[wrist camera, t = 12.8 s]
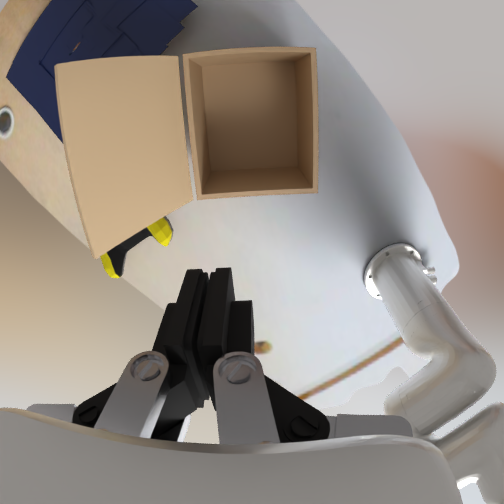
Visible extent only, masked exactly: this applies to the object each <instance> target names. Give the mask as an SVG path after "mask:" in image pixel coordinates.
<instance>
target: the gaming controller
mask: <svg viewBox="0 0 504 504" xmlns="http://www.w3.org/2000/svg"><path fill="white" fill-rule="evenodd" d="M172 235H173V228H172V226H171V224H170V221H169V220H168V219H167V217H166V216H164V217H162V218H161V219H159V220H157V221H156V222H154V223H152V224H151V225H149V226H147V227H146V228H144V229H142V230H141V231H139V232H138V233H136V234H134V235H133V236H131V237H130V238H128V239H126V240H125V241H123V242H122V243H120V244H118V245H117V246H115V247H114V248H112V249H111V250H109V251H107V252H106V253H104V254H103V255H101V256H100V257H101V260H102V263H103V266H104V269H105V271H106V272H107V274H109V276H110V277H112V278H119V277H121V276H122V274H123V271H124V264H125V259H126V254H127V251H129V250H130V249H131V248H132V247H134V246H135V245H137V244H138V243H139V242H141V241H142V240H144V239H145V238H147V237H149V236H153V237H154V238H155V239H156V240H157V241H158V242H159V243H160V244H162V245H164V246H168V244H169V242H170V241H171V239H172Z"/></svg>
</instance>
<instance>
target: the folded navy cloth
mask: <svg viewBox="0 0 504 504" xmlns="http://www.w3.org/2000/svg"><path fill="white" fill-rule="evenodd" d="M197 7H198V6H197V5H196V4H195V3H194V2H192V1H191V0H52V1H51V2H50V3H49V5H48V6H47V7H46V9H45V10H44V11H43V13H42V14H41V16H40V17H39V19H38V20H37V22H36V23H35V25H34V26H33V28H32V29H31V31H30V32H29V34H28V35H27V37H26V39H25V40H24V42H23V44H22V45H21V47H20V49H19V51H18V53H17V55H16V57H15V59H14V61H13V64H12V66H11V68H10V70H9V72H8V74H7V76H6V78H7V79H8V80H9V81H10V82H11V83H12V84H13V86H14V87H15V88H16V89H17V90H18V91H19V92H20V93H21V94H22V95H23V97H24V98H25V99H26V100H27V101H28V102H29V103H30V104H31V105H32V106H33V107H34V108H35V110H36V111H37V112H38V113H39V114H40V116H41V117H42V118H43V119H44V121H45V122H46V123H47V124H48V126H49V127H50V128H51V129H52V131H53V132H54V133H55V134H56V136H57V137H58V138H59V139H60V140H61V142H62V143H63V138H62V132H61V126H60V119H59V111H58V103H57V94H56V82H55V68H54V66H55V65H56V64H60V63H67V62H73V61H81V60H89V59H98V58H110V57H125V56H159V55H160V54H161V53H162V52H163V51H164V50H165V49H166V48H167V47H168V46H167V44H168V43H169V42H170V41H171V40H172V39H173V38H174V37H175V36H176V35H177V34H178V33H179V32H180V31H181V30H182V29H183V28H185V27H183V26H182V25H181V24H180V23H179V22H180V21H181V20H183V19H184V18H185V17H186V16H187V15H188V14H189V13H191V12H192V11H193V10H194V9H195V8H197Z"/></svg>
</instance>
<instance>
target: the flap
mask: <svg viewBox="0 0 504 504" xmlns="http://www.w3.org/2000/svg"><path fill="white" fill-rule="evenodd" d="M54 68H55V82H56V94H57V103H58V111H59V119H60V126H61V132H62V138H63V144H64V150H65V155H66V160H67V165H68V170H69V174H70V179H71V183H72V187H73V192H74V196H75V200H76V203H77V207H78V211H79V214H80V218H81V221H82V225H83V228H84V232H85V235H86V238H87V241H88V244H89V248H90V251H91V254H92V257H93V258H95V259H97V258H98V257H100V256H101V255H103V254H104V253H106V252H107V251H109V250H111V249H112V248H114V247H115V246H117V245H118V244H120V243H122V242H123V241H125V240H126V239H128V238H130V237H131V236H133V235H134V234H136V233H138V232H139V231H141V230H142V229H144V228H146V227H147V226H149V225H151V224H152V223H154V222H156V221H157V220H159V219H161V218H162V217H164V216H166V215H168V214H169V213H171V212H173V211H174V210H176V209H178V208H180V207H181V206H183V205H185V204H187V203H188V202H190V201H192V200H193V195H192V188H191V180H190V172H189V164H188V156H187V147H186V138H185V129H184V119H183V109H182V98H181V87H180V74H179V61H178V56H125V57H110V58H98V59H89V60H81V61H73V62H67V63H60V64H56V65H55V66H54Z"/></svg>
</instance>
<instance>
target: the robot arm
mask: <svg viewBox="0 0 504 504" xmlns="http://www.w3.org/2000/svg"><path fill="white" fill-rule="evenodd" d="M434 273H435V268H434V267H428V268H425V267H424V266H423V265H422V260H421V257H420V255H419V253H418V251H417V250H416V249H415V248H414V247H412V246H411V245H408V244H403V243H399V244H393V245H390V246H388V247H386V248H384V249H382V250H381V251H379V252H378V253H377V254H376V255H375V256H374V257H373V258H372V260H371V261H370V263H369V264H368V266H367V268H366V271H365V275H364V282H365V286H366V288H367V290H368V292H369V293H370V294H371V295H372V296H373V297H375V298H377V299H382V301H383V303H384V305H385V306H386V308H387V310H388V312H389V314H390V316H391V318H392V319H393V321H394V323H395V325H396V327H397V329H398V331H399V333H400V335H401V337H402V339H403V341H404V343H405V345H406V347H407V348H408V350H409V351H410V352H411V353H412V354H414V355H415V356H417V357H420V358H423V359H426V360H431V361H430V362H429V363H428V364H427V365H426V366H425V367H423V369H421V370H420V371H419V372H417V373H416V374H415V375H414V376H412V377H411V378H409V379H408V380H407V381H405V382H404V383H403V384H401V385H400V386H399V387H397V388H396V389H395V390H394V391H392V392H391V393H390V394H389V395H388V396H387V398H386V400H385V402H384V414H385V415H349V414H348V415H347V414H337V416H336V417H335V416H325V415H324V414H323V413H321V412H320V411H319V410H317V409H315V408H314V407H312V406H311V405H309V404H308V403H306V402H304V401H303V400H301V399H300V398H298V397H297V396H295V395H294V394H292V393H291V392H289V391H287V390H286V389H284V388H283V387H281V386H280V385H278V384H277V383H276V382H274V381H273V380H271V379H270V378H268V377H267V376H265V375H264V373H263V369H262V365H261V363H260V361H259V359H258V358H257V357H255V356H254V319H253V306H252V300H249V301H235V295H234V287H233V279H232V271H231V267H230V268H216V271H215V272H211V274H210V279H209V277H208V273H207V272H205V273H203V271H202V269H190V270H187V271H186V274H185V277H184V280H183V283H182V286H181V290H180V293H179V296H178V299H177V302H176V303H169V304H168V305H167V307H166V310H165V314H164V316H163V319H162V322H161V325H160V328H159V331H158V334H157V337H156V340H155V343H154V346H153V349H152V351H146V352H142V353H140V354H138V355H136V356H134V357H133V358H132V359H131V360H130V361H129V363H128V364H127V366H126V368H125V369H124V371H123V373H122V375H121V377H120V379H119V381H118V382H117V383H115V384H114V385H112V386H110V387H109V388H107V389H105V390H103V391H102V392H100V393H98V394H96V395H95V396H93V397H91V398H89V399H88V400H86V401H84V402H83V403H81V404H80V405H79V406H78V407H76V405H75V404H33V405H32V406H30V407H28V408H27V410H22V409H17V408H0V504H463V503H462V499H461V495H460V492H459V489H460V488H462V487H463V486H465V485H467V484H469V483H471V482H475V483H476V484H477V485H478V487H479V489H480V492H481V494H482V497H483V499H484V501H485V502H486V503H487V504H504V404H503V403H501V402H495V403H492V404H490V405H487V406H486V407H484V408H483V409H481V410H480V411H479V412H477V413H476V414H474V415H473V416H472V417H470V418H469V419H467V420H466V421H465V422H463V423H461V424H460V425H459V426H457V427H456V428H454V429H453V430H451V431H450V432H448V433H447V434H445V435H443V436H442V437H437V436H436V435H434V433H433V432H434V431H436V430H437V429H439V428H440V427H442V426H443V425H445V424H446V423H448V422H449V421H451V420H453V419H454V418H456V417H457V416H459V415H460V414H461V413H463V412H464V411H466V410H467V409H468V408H469V407H471V406H472V405H473V404H475V403H476V402H477V401H478V400H480V399H481V398H482V397H483V396H484V395H485V394H486V392H487V391H488V390H489V389H490V388H491V386H492V384H493V382H494V380H495V377H496V365H495V362H494V360H493V358H492V357H491V355H490V354H489V352H488V351H487V350H486V349H485V348H484V346H482V344H481V343H480V342H479V341H478V340H477V339H476V338H475V337H474V336H473V335H472V334H471V332H470V331H469V330H468V329H467V328H466V327H465V325H464V324H463V323H462V321H461V320H460V319H459V317H458V316H457V315H456V313H455V312H454V311H453V309H452V308H451V307H450V305H449V304H448V303H447V301H446V300H445V298H444V297H443V296H442V294H441V293H440V292H439V290H438V289H437V288H436V287H435V284H436V283H437V278H436V276H435V275H434V276H427V275H426V274H434ZM209 396H210V397H211V400H212V403H213V406H214V409H215V411H216V412H217V422H218V432H219V441H220V444H201V443H187V442H186V443H185V442H184V439H185V435H186V433H187V429H188V427H189V423H190V420H191V413H192V412H194V411H195V410H197V408H203V406H204V400H209Z"/></svg>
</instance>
